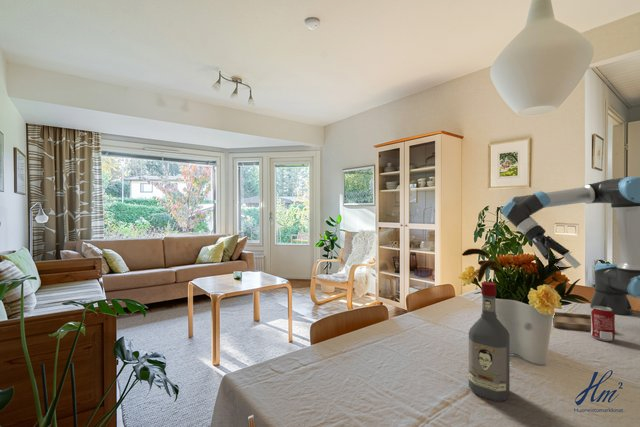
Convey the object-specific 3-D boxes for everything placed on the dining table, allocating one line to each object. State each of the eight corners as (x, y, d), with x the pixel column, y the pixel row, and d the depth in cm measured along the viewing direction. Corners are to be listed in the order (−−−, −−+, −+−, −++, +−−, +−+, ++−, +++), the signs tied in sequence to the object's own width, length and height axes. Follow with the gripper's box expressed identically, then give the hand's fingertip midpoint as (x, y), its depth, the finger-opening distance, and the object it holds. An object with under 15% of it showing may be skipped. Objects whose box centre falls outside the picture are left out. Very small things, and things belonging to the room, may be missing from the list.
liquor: (474, 378, 91) (474, 278, 91) (510, 389, 85) (510, 282, 85) (466, 392, 84) (466, 284, 84) (505, 405, 78) (505, 289, 78)
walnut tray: (593, 320, 137) (593, 315, 137) (613, 333, 122) (613, 327, 122) (541, 316, 143) (541, 310, 143) (554, 327, 129) (554, 321, 129)
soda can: (616, 344, 113) (616, 312, 113) (591, 339, 117) (591, 308, 117) (613, 338, 118) (613, 307, 118) (589, 333, 122) (590, 304, 122)
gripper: (537, 234, 147) (575, 270, 135) (511, 236, 133) (551, 276, 121) (550, 223, 142) (590, 260, 130) (525, 225, 129) (568, 265, 117)
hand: (572, 268), depth 126 cm, fingers open, 13 cm apart
